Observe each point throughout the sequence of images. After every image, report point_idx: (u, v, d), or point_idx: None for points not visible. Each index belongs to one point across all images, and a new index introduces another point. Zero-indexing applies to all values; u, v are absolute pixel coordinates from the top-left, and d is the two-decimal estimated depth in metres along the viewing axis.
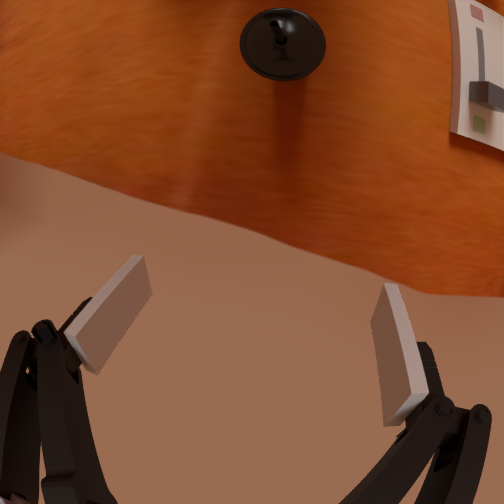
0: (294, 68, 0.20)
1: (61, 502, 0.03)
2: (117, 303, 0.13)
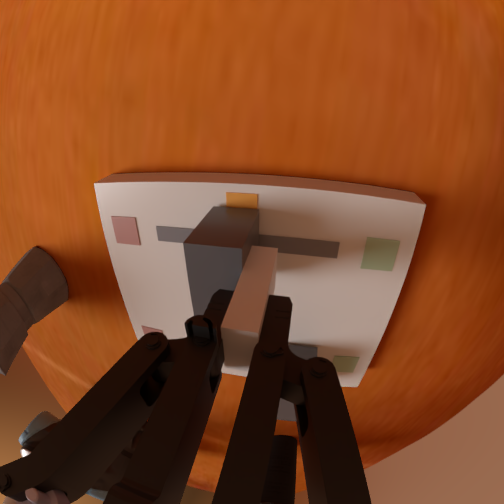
0: None
1: None
2: None
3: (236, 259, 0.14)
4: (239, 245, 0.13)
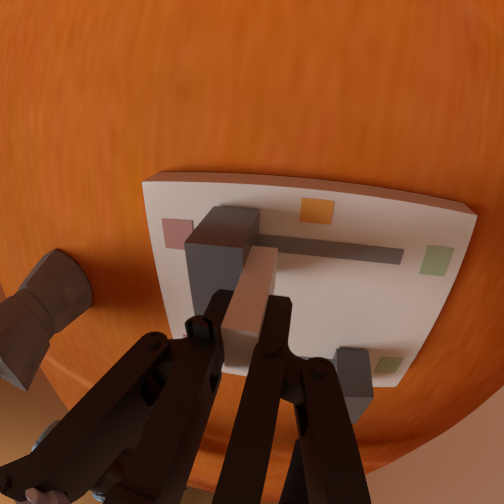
0: None
1: None
2: None
3: (236, 258, 0.14)
4: (240, 245, 0.14)
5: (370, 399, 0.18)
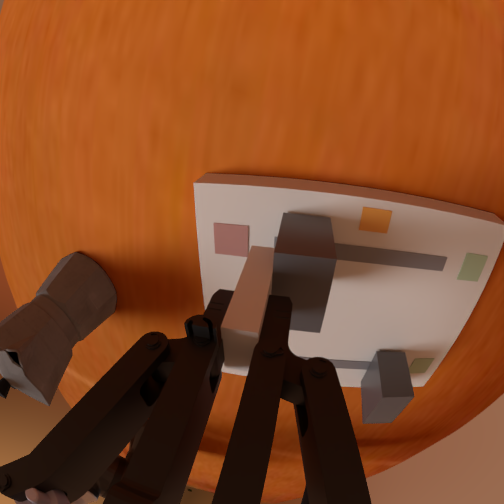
0: None
1: None
2: None
3: (328, 269, 0.13)
4: (333, 255, 0.13)
5: (411, 398, 0.18)
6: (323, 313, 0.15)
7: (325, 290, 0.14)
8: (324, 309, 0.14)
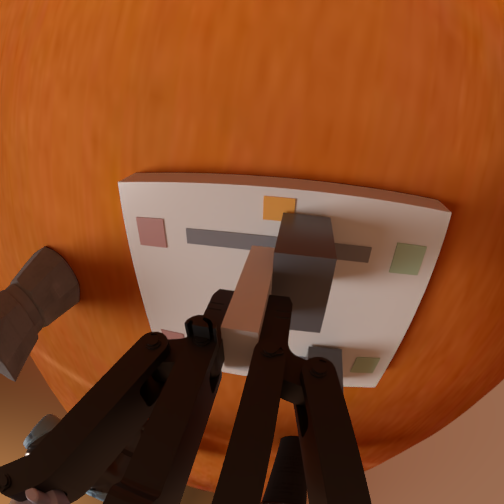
0: None
1: None
2: None
3: (328, 269, 0.13)
4: (333, 255, 0.13)
5: None
6: (323, 313, 0.15)
7: (325, 290, 0.14)
8: (324, 309, 0.14)
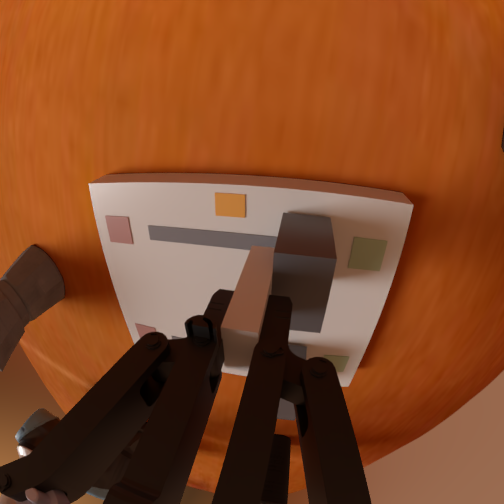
0: None
1: None
2: None
3: (328, 269, 0.13)
4: (333, 255, 0.13)
5: None
6: (323, 313, 0.15)
7: (325, 290, 0.14)
8: (324, 309, 0.14)
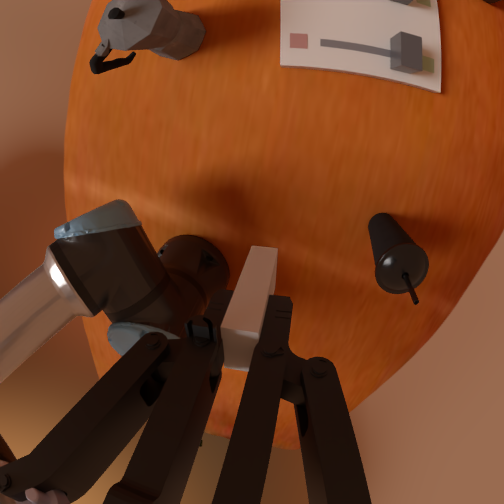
0: (423, 266, 0.31)
1: None
2: None
3: None
4: None
5: (420, 39, 0.22)
6: None
7: None
8: None
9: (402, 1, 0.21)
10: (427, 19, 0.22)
